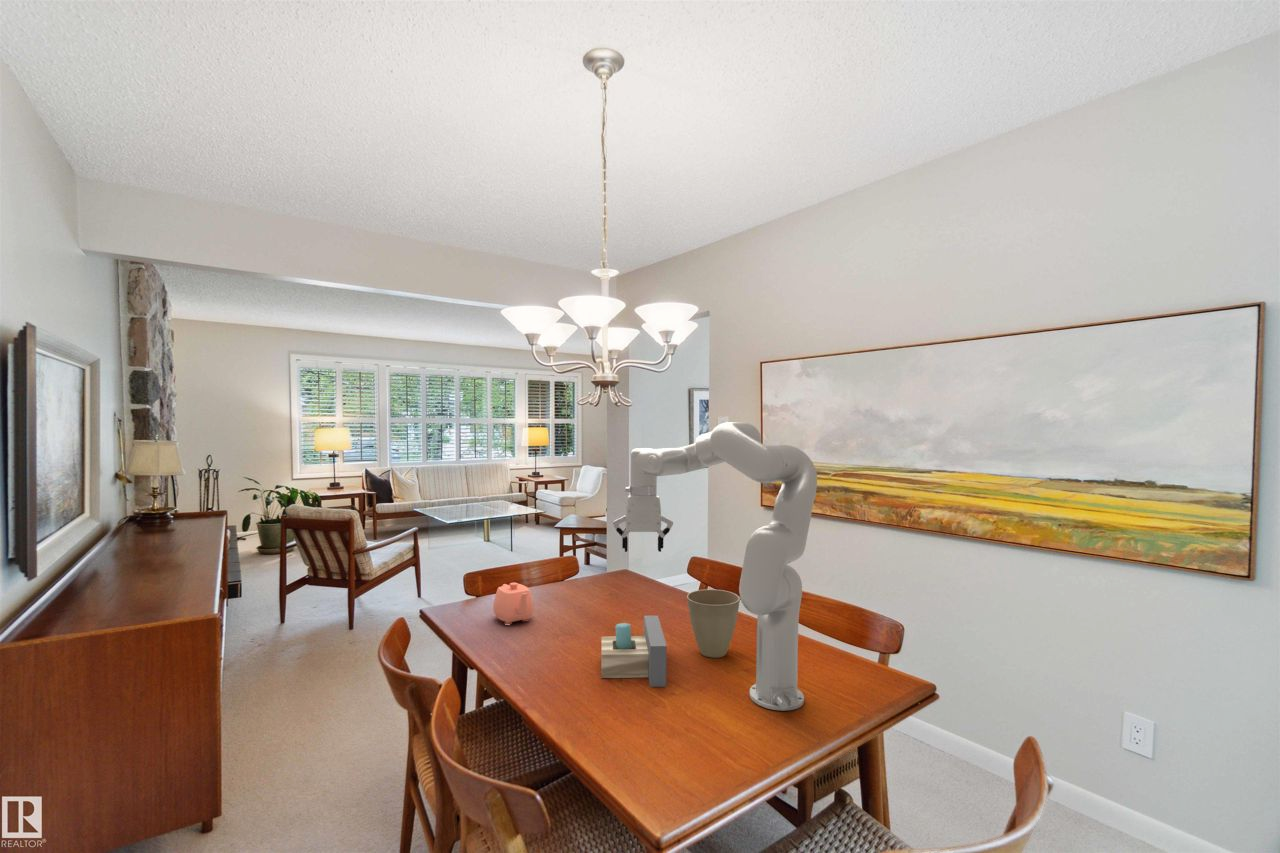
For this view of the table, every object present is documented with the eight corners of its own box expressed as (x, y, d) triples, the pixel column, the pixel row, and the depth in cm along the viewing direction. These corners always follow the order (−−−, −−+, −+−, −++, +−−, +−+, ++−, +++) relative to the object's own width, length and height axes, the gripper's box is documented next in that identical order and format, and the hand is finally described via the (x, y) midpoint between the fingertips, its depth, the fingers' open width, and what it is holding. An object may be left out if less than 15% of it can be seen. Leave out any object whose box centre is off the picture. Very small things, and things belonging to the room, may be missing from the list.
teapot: (485, 615, 188) (486, 579, 188) (519, 608, 195) (519, 574, 195) (508, 633, 172) (509, 594, 172) (544, 626, 178) (544, 588, 178)
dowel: (633, 665, 147) (631, 627, 147) (618, 667, 146) (616, 629, 146) (630, 659, 151) (628, 622, 151) (616, 661, 150) (614, 624, 150)
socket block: (648, 677, 143) (648, 653, 143) (601, 678, 142) (601, 654, 142) (644, 657, 155) (645, 636, 155) (601, 658, 154) (601, 636, 154)
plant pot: (724, 639, 169) (724, 587, 169) (748, 659, 155) (749, 602, 155) (678, 645, 164) (678, 591, 164) (699, 666, 150) (700, 607, 150)
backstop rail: (666, 686, 138) (666, 646, 138) (650, 686, 138) (650, 646, 138) (657, 650, 160) (657, 615, 160) (643, 650, 160) (643, 615, 160)
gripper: (613, 492, 156) (612, 554, 156) (675, 493, 158) (674, 553, 158) (613, 489, 164) (612, 548, 164) (671, 489, 165) (671, 547, 165)
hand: (642, 550), depth 161 cm, fingers open, 9 cm apart
